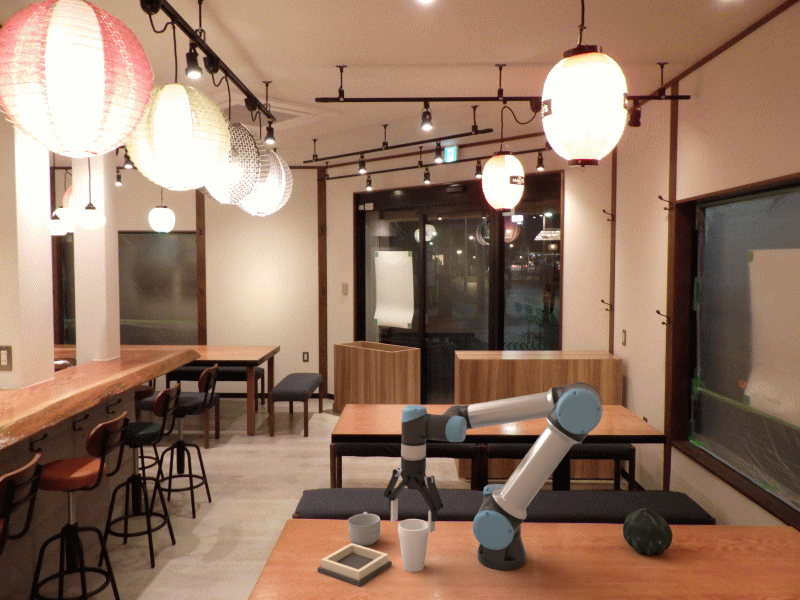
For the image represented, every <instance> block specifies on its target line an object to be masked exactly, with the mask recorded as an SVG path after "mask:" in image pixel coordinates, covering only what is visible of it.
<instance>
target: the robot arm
mask: <svg viewBox="0 0 800 600" xmlns="http://www.w3.org/2000/svg"><path fill="white" fill-rule="evenodd" d="M401 412H402V413H401V421H400V423H401V445H400V447H401V448H400V456H401V458H400V468H399V467H397V468H394V469H393V470H392V473H391V478H390V480H389V482H388V484H387V485H386V486H387V487H386V488H385V490H384V493H383V496H384V498H387V499H388V509H389V511H390V522H391V523H394V522H395V521H398V519H399V517H398V514H399V511H398V510H399V499H398V498H397V497H398V495H399V494H400V493H401V492H402V490H404V489H405V488H406V487H407V488H411V489H413V490H417V491H418V492H419V493H420V494H421V496H422V498H423V499H424V501H425V503H426V505H427V506H428V507H429V510H428V512H427V514H428V516H427V517H428V518H427V523H428V533H430V534H431V533H432V532H434V531H436V521H438V512H439V511H440V510H443V509H444V504H443V501H442V497H441V496H440V493H439V490H438V488H437V485H436V479H435V476H434V475H430V476H429V475H426V469H427V468H426V466H427V464H426V463H427V460H426V456H427V453H426V452H427V440H431V441H432V440H433V441H440V442H441V441H442V442H450V443H462V442H464V441H465V439H466V436H467V430H472V429H478V428H485V427H491V426H498V425H504V424H505V425H507V424H512V423H519V422H520V423H521V422H525V421H533V420H539V419H546V424H547V425H546V427H545V428H544V430H543V431H542V432H541V434H540V435H539V436H538V437H537V439H536V441H535V442H534V443H533V445H532V446H531V447H530V449H529V450H528V452H526V454H525V455H524V457H523V458H522V460H521V461H520V463H519V464H518V465H517V467H515V470H514V471H513V472H512V473H511V475H510V476H509V478H508V479H507V480H506V482H505V483H504V484H503V483H502V484H500V483H498V484H497V483H492V484H487V485H485V486H484V487H483V492H482V495H483V498H482V500H483V501H482V504H481V506H480V507H479V510H478V512H477V513H476V515H475V516H474V518H473V522H472V532H473V534H474V537H475V539H476V540H477V542H478V543H479V545H478V549H477V560H478V562H479V563H480V564H482V565H483V566H485V567H488V568H491V569H495V570H502V571H509V570H510V571H511V570H515V569H520V568H522V567H523V566H525V565H526V563H527V551H526V548H525V545H524V542H523V538H522V536H521V535H522V534H521V533H522V524H523V523H524V521H525V520H526V519H527V516H528V515H527V510H526V509H527V508H528V506H529V505H530V504H531V502H532V501H533V499H534V498H535V497H536V495H537V494H538V493H539V491H540V490H541V488H542V487H543V486H544V484H546V482H547V481H548V479H549V478H550V477H551V475H552V474H553V473H554V472H555V470H556V469H557V467H558V466H559V464H560V463H561V462H562V460H563V459H564V457H565V456H566V454H568V452H569V451H570V449H571V448H572V447H573V446H574V445H577V444H582V443H583V442H584V441H585V438H586V437H587V436H588V435H589V433H590V432H592V431H593V430H594V429H596V428H597V427H598V425H599V424H600V422H601V419H602V417H603V405H602V398H601V395H600V393H599V391H598V390H597V389H596V388H595V386H593V385H591V384H590V383H587V382H582V381H579V382H578V381H576V382H572V383H568V384H564V385H559V386H553V387H550V388H549V389H548V391H543V392H538V393H533V394H526V395H521V396H514V397H507V398H501V399H495V400H490V401H484V402H479V403H472V404H465V405H462V404H455V405H452V406H450V407H449V408H447V410H446V411H444V413H442V414H432V413H428V410H427V407H426V406H424V405H420V404H409V405H406V406H404V407H402V410H401ZM400 477H401V478H402V480H401V481H400V482H399V483H398V480H399V479H400ZM397 483H398V485H397ZM396 485H397V486H396ZM395 487H396V488H395Z"/></svg>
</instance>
